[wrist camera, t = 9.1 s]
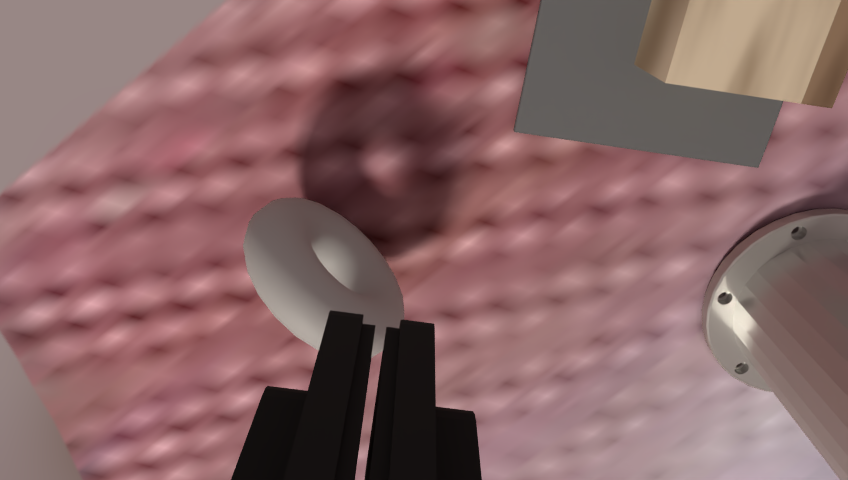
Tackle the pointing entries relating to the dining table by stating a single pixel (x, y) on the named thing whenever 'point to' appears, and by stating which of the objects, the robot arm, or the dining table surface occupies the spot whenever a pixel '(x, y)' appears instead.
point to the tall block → (749, 47)
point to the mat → (628, 91)
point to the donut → (319, 270)
